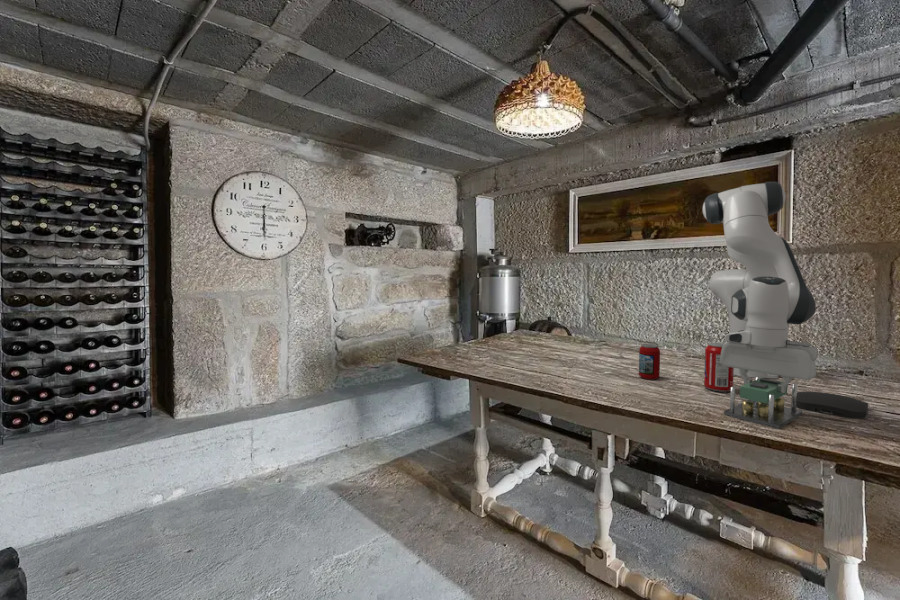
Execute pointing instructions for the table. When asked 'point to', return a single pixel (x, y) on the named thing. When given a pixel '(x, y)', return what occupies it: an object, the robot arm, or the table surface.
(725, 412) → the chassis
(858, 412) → the media streaming box
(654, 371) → the beverage can
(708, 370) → the soda can
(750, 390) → the board
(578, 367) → the table surface
